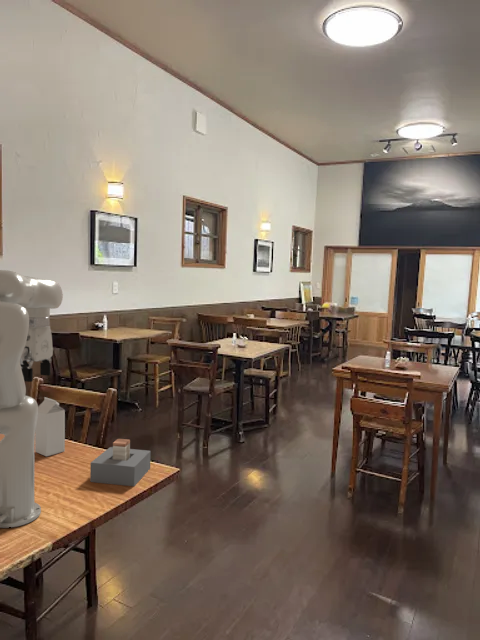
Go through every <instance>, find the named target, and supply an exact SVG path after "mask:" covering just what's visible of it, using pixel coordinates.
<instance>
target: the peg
mask: <svg viewBox="0 0 480 640" xmlns="http://www.w3.org/2000/svg"><path fill="white" fill-rule="evenodd" d="M112 447H113V460H124V461H127V460H129V459H130V449H131V439H124V438H117V439H115V441H114V442H112Z"/></svg>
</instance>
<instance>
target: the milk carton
mask: <svg viewBox="0 0 480 640" xmlns="http://www.w3.org/2000/svg"><path fill="white" fill-rule="evenodd" d="M43 398H44V400H43V401H42V402H41V403H40V404H39V405H38V417H37V423H36V429H35V442H34V453H37V454H40V455H42V456H45V457H50V456H53V455H57V454H60V453H62V452H65V450H66V448H65V446H66V445H65V443H66V438H65V437H66V432H65V431H66V429H65V428H66V414H65V412H66V410H65V409H64V408H63V407H61V406H60V403H59V402H57V400H55V399H52V398H48V397H45V396H44V397H43Z"/></svg>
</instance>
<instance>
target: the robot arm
mask: <svg viewBox="0 0 480 640" xmlns="http://www.w3.org/2000/svg"><path fill="white" fill-rule="evenodd" d="M63 296H64V293H63V289H62V287H61V285H60V284H59V283H58V282H57V281H53V280H49V279H43V278H38V277H32V276H26V275H23V274H20V273H18V272H16V271H13V270H7V269H6V270H5V269H0V435H3V438H2V439H0V528H1V529H9V527H11V528H17V527H20V526H24V525H27V524H29V523H31V522H33V521H34V520H36V519H38V518H39V516H40V515H41V514H42V513H41V512H42V508H41V505H40V504H39V503H38V502H35V429H36V423H37V417H38V407H39V405H38V402H37V400H36V399H35V398H33V397H32V396H29V395H26V394H27V387H26V383H27V382H28V383H31V382H33V379H34V378H33V377H34V376H33V374H34V373H33V372H34V371H33V370H34V369H33V364H34V362H40V365H39V367H40V373H39V374H40V376H51V370H52V369H51V363H52V361H53V359H52V358H53V355H54V347H53V335H52V334H53V333H52V330H51V325H50V324H51V323H50V320H51V319H50V316H51V315H50V314H51V312H50V310H51V309H52V310H53V309H58V308H59V307H60V306H61V304H62V302H63ZM25 382H26V383H25Z"/></svg>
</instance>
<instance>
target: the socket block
mask: <svg viewBox="0 0 480 640" xmlns="http://www.w3.org/2000/svg"><path fill="white" fill-rule="evenodd" d="M150 469H151V450H146V449H134V448H130V459H129V460H127V461H124V460H113V446H110V447H108V448H107V449H105V451H103V452H102V453H101V454H100V455H98V456H97V457H96V458H95V459H93V460H92V461H91V462H90V471H89V472H90V474H89V475H90V478H89V479H90V482H91V483H98V484H107V485H118V486H127V487H135V486H137V484H138V483H139V482H140V481H141V479H143V477H144V476H145V475H147V473H148V472H149V471H150ZM148 470H149V471H148Z"/></svg>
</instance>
